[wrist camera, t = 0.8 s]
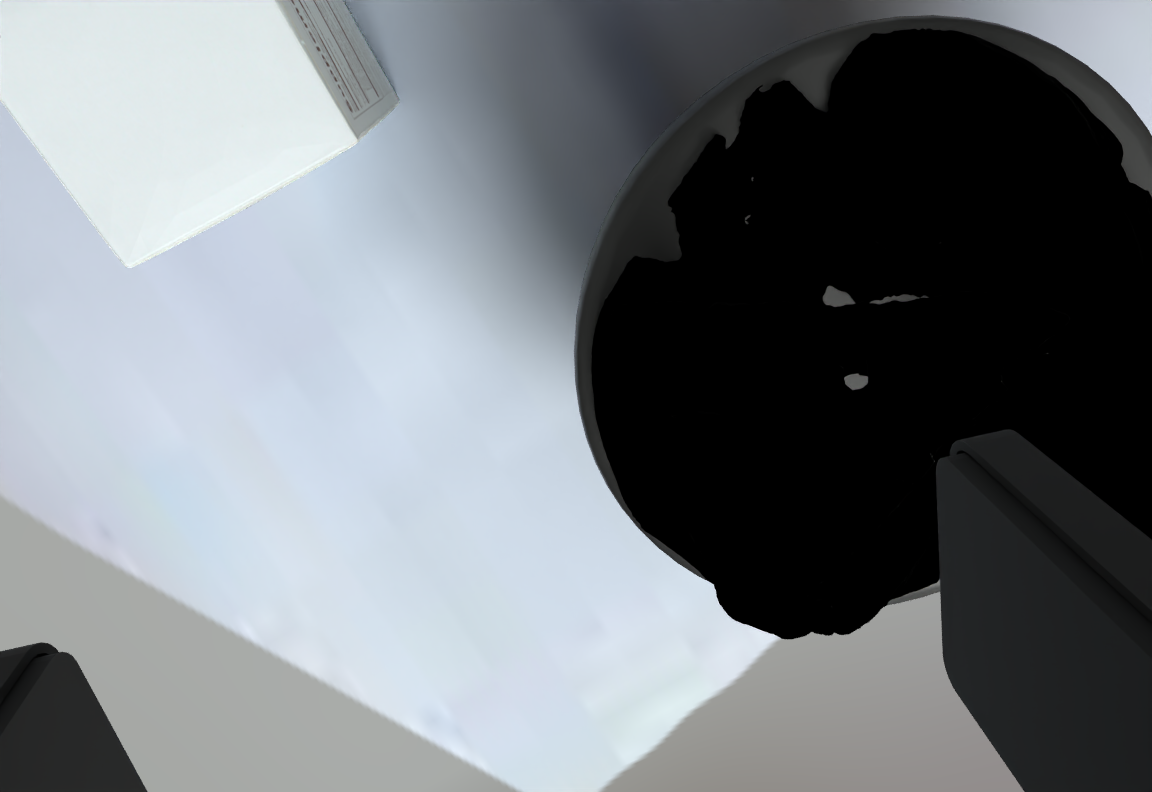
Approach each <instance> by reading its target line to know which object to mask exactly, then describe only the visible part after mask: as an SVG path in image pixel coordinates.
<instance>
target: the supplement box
mask: <svg viewBox="0 0 1152 792" xmlns="http://www.w3.org/2000/svg"><path fill="white" fill-rule="evenodd" d="M0 101H1V102H2V103H3V105H4V106H5V107H6V109H7V110H8V111H9V113H10V114H11V115H12V117H13V118H14V120H15V121H16V122H17V124H18V125H19V127H20V128H21V129H22V131H23V132H24V133H25V135H26V136H27V137H28V139H29V140H30V141H31V143H32V144H33V145H34V147H35V148H36V149H37V151H38V152H39V153H40V155H41V156H42V157H43V159H44V160H45V161H46V163H47V164H48V166H49V167H50V168H51V170H52V171H53V172H54V174H55V175H56V176H57V178H58V179H59V180H60V182H61V183H62V184H63V186H64V187H65V188H66V190H67V191H68V192H69V194H70V195H71V196H72V198H73V199H74V200H75V202H76V203H77V204H78V206H79V207H80V208H81V210H82V211H83V212H84V214H85V215H86V216H87V218H88V219H89V221H90V222H91V223H92V224H93V226H94V227H95V229H96V230H97V231H98V233H99V234H100V235H101V237H102V238H103V239H104V241H105V242H106V243H107V245H108V246H109V247H110V249H111V250H112V251H113V252H114V254H115V255H116V256H117V257H118V259H119V260H120V261H121V262H122V264H123V265H124V266H125V267H128V268H132V267H134V266H136V265H139V264H141V263H143V262H145V261H147V260H149V259H151V258H153V257H155V256H157V255H159V254H161V253H163V252H165V251H167V250H169V249H171V248H172V247H174V246H176V245H178V244H180V243H182V242H184V241H186V240H188V239H190V238H192V237H194V236H196V235H198V234H200V233H201V232H203V231H205V230H207V229H209V228H211V227H213V226H215V225H217V224H218V223H220V222H222V221H224V220H226V219H228V218H230V217H232V216H233V215H235V214H237V213H239V212H241V211H243V210H244V209H246V208H248V207H250V206H252V205H253V204H255V203H257V202H259V201H260V200H262V199H264V198H266V197H268V196H269V195H271V194H273V193H275V192H277V191H278V190H280V189H282V188H284V187H285V186H287V185H289V184H291V183H292V182H294V181H296V180H298V179H299V178H301V177H303V176H304V175H306V174H308V173H309V172H311V171H313V170H314V169H316V168H318V167H319V166H321V165H323V164H324V163H326V162H328V161H329V160H331V159H333V158H334V157H336V156H338V155H339V154H341V153H343V152H344V151H346V150H348V149H349V148H351V147H353V146H354V145H356V144H357V143H358V142H359V141H360V140H361V139H362V138H363V137H364V136H365V135H366V134H367V133H368V132H369V131H371V130H372V129H373V128H374V127H375V126H377V125H378V124H379V123H380V122H381V121H382V120H383V119H384V118H385V117H386V116H387V115H388V114H389V113H390V112H391V111H392V110H393V109H394V108H395V107H396V106H397V105H398V104H399V103H400V100H399V98H398V96H397V95H396V93H395V91H394V90H393V88H392V86H391V85H390V83H389V81H388V79H387V77H386V76H385V74H384V72H383V70H382V69H381V67H380V65H379V64H378V62H377V60H376V58H375V56H374V55H373V53H372V51H371V49H370V48H369V46H368V44H367V42H366V40H365V39H364V37H363V35H362V33H361V32H360V30H359V28H358V26H357V24H356V23H355V21H354V19H353V17H352V16H351V14H350V12H349V10H348V9H347V7H346V5H345V3H344V1H343V0H0Z"/></svg>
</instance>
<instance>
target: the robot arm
mask: <svg viewBox="0 0 1152 792" xmlns="http://www.w3.org/2000/svg"><path fill="white" fill-rule="evenodd" d="M936 486H937V513H938V539H939V566H940V593H941V620H942V646H943V659H944V664H945V668H946V671H947V674H948V677H949V679H950V681H951V684H952V686H953V688H954V689H955V691H956V693H957V694H958V696H959V697H960V698H961V700H962V701H963V703H964V704H965V705H966V707H967V708H968V710H969V712H970V713H971V714H972V716H973V717H974V719H975V720H976V721H977V723H978V725H979V726H980V728H981V729H982V730H983V732H984V733H985V735H986V736H987V738H988V739H989V741H990V742H991V744H992V745H993V746H994V748H995V749H996V751H997V752H998V754H999V755H1000V757H1001V758H1002V759H1003V761H1004V762H1005V764H1006V765H1007V767H1008V768H1009V770H1010V771H1011V772H1012V774H1013V775H1014V777H1015V778H1016V780H1017V781H1018V783H1019V784H1020V786H1021V787H1022V788H1023V790H1024V791H1025V792H1152V540H1151V539H1150V538H1149V537H1148V536H1146V535H1145V534H1144V533H1143V532H1141V531H1140V530H1139V529H1138V528H1136V527H1135V526H1134V525H1133V524H1131V523H1130V522H1129V521H1128V520H1126V519H1125V518H1124V517H1123V516H1121V515H1120V514H1119V513H1118V512H1116V511H1115V510H1114V509H1113V508H1111V507H1110V506H1109V505H1107V504H1106V503H1105V502H1104V501H1102V500H1101V499H1100V498H1099V497H1097V496H1096V495H1095V494H1094V493H1092V492H1091V491H1090V490H1089V489H1087V488H1086V487H1085V486H1084V485H1082V484H1081V483H1080V482H1079V481H1077V480H1076V479H1075V478H1074V477H1072V476H1071V475H1070V474H1069V473H1067V472H1066V471H1065V470H1064V469H1062V468H1061V467H1060V466H1059V465H1057V464H1056V463H1055V462H1054V461H1052V460H1051V459H1050V458H1049V457H1047V456H1046V455H1045V454H1044V453H1042V452H1041V451H1040V450H1039V449H1037V448H1036V447H1035V446H1034V445H1032V444H1031V443H1030V442H1029V441H1027V440H1026V439H1025V438H1023V437H1022V436H1021V435H1020V434H1018V433H1017V432H1015V431H1013V430H1002V431H997V432H993V433H988V434H984V435H979V436H975V437H970V438H966V439H961V440H957V441H955V442H954V443H953V444H952V447H951V450H950V456H947V457H943V458H940V459H939V460H938V462H937V466H936ZM0 792H147V790H146V789H145V786H144V785H143V783H142V781H141V779H140V777H139V775H138V774H137V772H136V770H135V768H134V766H133V764H132V763H131V761H130V759H129V757H128V755H127V753H126V751H125V750H124V748H123V746H122V744H121V742H120V740H119V738H118V737H117V735H116V733H115V731H114V729H113V728H112V726H111V724H110V722H109V720H108V718H107V716H106V714H105V713H104V711H103V709H102V707H101V705H100V703H99V702H98V700H97V698H96V696H95V694H94V692H93V691H92V689H91V687H90V685H89V683H88V681H87V679H86V678H85V676H84V674H83V672H82V670H81V668H80V666H79V665H78V663H77V661H76V660H75V659H74V657H73V656H72V655H70V654H68V653H65V652H58V650H57V649H56V648H55V647H53V646H52V645H50V644H48V643H36V644H32V645H27V646H23V647H18V648H14V649H9V650H5V651H0Z"/></svg>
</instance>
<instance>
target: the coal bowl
mask: <svg viewBox="0 0 1152 792" xmlns="http://www.w3.org/2000/svg"><path fill="white" fill-rule="evenodd" d="M574 359H575V383H576V390H577V397H578V405H579V411H580V415H581V419H582V423H583V427H584V431H585V435H586V438H587V441H588V444H589V447H590V449H591V452H592V455H593V457H594V460H595V463H596V465H597V467H598V469H599V471H600V472H601V474H602V476H603V478H604V480H605V482H606V484H607V486H608V488H609V489H610V491H611V492H612V494H613V495H614V497H615V499H616V500H617V502H618V503H619V505H620V506H621V508H622V509H623V510H624V511H625V513H626V514H627V515H628V516H629V517H630V519H631V520H632V521H633V522H634V524H635V525H636V526H637V527H638V528H639V529H640V530H641V531H642V532H643V533H644V534H645V535H646V536H647V537H648V538H649V539H650V540H651V541H652V542H653V543H654V544H655V545H656V546H657V547H658V548H659V549H661V550H662V551H663V552H664V553H666V554H667V555H668V556H669V557H671V558H672V559H673V560H674V561H676V562H677V563H678V564H680V565H682V566H683V567H685V568H686V569H688V570H689V571H691V572H693V573H694V574H696V575H697V576H699V577H701V578H703V579H705V580H707V581H709V582H711V583H712V584H714V587H715V589H716V594H717V598H718V601H719V604H720V605H721V606H722V607H723V609H724V610H725V612H726V613H727V614H728V615H729V616H730V617H731V618H732V619H734V620H735V621H738V622H741V623H742V624H747V625H749V626H752V627H755V628H757V629H760V630H762V631H765V632H768V633H770V634H774V635H777V636H778V637H780V638H782V639H794V638H799V637H803V636H806V635H807V634H809V633H810V632H814V633H816V634H824V635H828V636H829V635H832V634H833V633H837V634H839V635H845V634H850V633H852V632H853V631H855V630H857V629H859V628H861V626H863V625H864V624H866V623H868V622H869V621H870V620H871V619H873V617H875V615H877V614H878V612H879V611H880V609H882V608H883V607H885V606H886V605H890V604H896V603H901V602H905V601H909V600H913V599H917V598H921V597H924V596H927V595H930V594H933V593H937V592H940V566H939V539H938V513H937V486H936V466H937V462H938V460H939V459H940V458H943V457H947V456H950V450H951V447H952V444H953V443H954V442H955V441H957V440H961V439H966V438H970V437H975V436H979V435H984V434H988V433H993V432H997V431H1002V430H1013V431H1015V432H1017V433H1018V434H1020V435H1021V436H1022V437H1023V438H1025V439H1026V440H1027V441H1029V442H1030V443H1031V444H1032V445H1034V446H1035V447H1036V448H1037V449H1039V450H1040V451H1041V452H1042V453H1044V454H1045V455H1046V456H1047V457H1049V458H1050V459H1051V460H1052V461H1054V462H1055V463H1056V464H1057V465H1059V466H1060V467H1061V468H1062V469H1064V470H1065V471H1066V472H1067V473H1069V474H1070V475H1071V476H1072V477H1074V478H1075V479H1076V480H1077V481H1079V482H1080V483H1081V484H1082V485H1084V486H1085V487H1086V488H1087V489H1089V490H1090V491H1091V492H1092V493H1094V494H1095V495H1096V496H1097V497H1099V498H1100V499H1101V500H1102V501H1104V502H1105V503H1106V504H1107V505H1109V506H1110V507H1111V508H1113V509H1114V510H1115V511H1116V512H1118V513H1119V514H1120V515H1121V516H1123V517H1124V518H1125V519H1126V520H1128V521H1129V522H1130V523H1131V524H1133V525H1134V526H1135V527H1136V528H1138V529H1139V530H1140V531H1141V532H1143V533H1144V534H1145V535H1146V536H1148V537H1149V538H1150V539H1151V540H1152V136H1151V134H1150V132H1149V130H1148V129H1147V127H1146V126H1145V124H1144V123H1143V122H1142V120H1141V119H1140V118H1139V116H1138V115H1137V114H1136V112H1135V111H1134V110H1133V108H1132V107H1131V106H1130V104H1129V103H1128V102H1127V101H1126V100H1125V99H1124V98H1123V97H1122V96H1121V95H1120V94H1119V93H1118V92H1117V91H1116V90H1115V89H1114V88H1113V87H1112V86H1111V85H1110V84H1109V83H1108V82H1107V81H1106V80H1104V79H1103V78H1102V77H1101V76H1099V75H1098V74H1097V73H1096V72H1094V71H1093V70H1092V69H1091V68H1090V67H1088V66H1087V65H1086V64H1084V63H1083V62H1081V61H1079V60H1078V59H1076V58H1074V57H1073V56H1071V55H1070V54H1068V53H1066V52H1065V51H1063V50H1062V49H1060V48H1058V47H1057V46H1055V45H1052V44H1050V43H1048V42H1046V41H1044V40H1041V39H1039V38H1037V37H1035V36H1033V35H1031V34H1028V33H1025V32H1022V31H1019V30H1016V29H1013V28H1009V27H1006V26H1003V25H1000V24H996V23H991V22H985V21H980V20H975V19H970V18H962V17H948V16H935V15H931V16H903V17H894V18H887V19H880V20H873V21H866V22H860V23H856V24H852V25H848V26H844V27H840V28H836V29H833V30H829V31H825V32H822V33H819V34H816V35H814V36H811V37H808V38H805V39H803V40H800V41H797V42H794V43H792V44H789V45H787V46H785V47H782V48H780V49H778V50H776V51H774V52H772V53H770V54H768V55H766V56H764V57H762V58H760V59H757V60H756V61H754V62H753V63H751V64H749V65H748V66H746V67H744V68H743V69H741V70H739V71H738V72H736V73H734V74H733V75H731V76H729V77H728V78H726V79H725V80H723V81H722V82H721V83H719V84H718V85H717V86H715V87H714V88H713V89H711V90H710V91H708V92H707V93H706V94H704V95H703V96H702V97H700V98H699V99H698V100H697V101H696V102H694V103H693V104H692V105H691V106H690V107H689V108H688V109H687V110H686V111H684V112H683V113H682V114H681V115H680V116H679V117H678V118H677V119H676V120H674V121H673V122H672V124H671V125H670V126H669V127H668V128H667V129H666V130H665V131H664V132H663V133H662V134H661V136H660V137H659V138H658V139H657V140H656V141H655V142H654V143H653V144H652V145H651V147H650V148H649V149H648V151H647V152H646V153H645V155H644V156H643V157H642V158H641V160H640V161H639V162H638V164H637V165H636V166H635V168H634V169H633V170H632V172H631V173H630V175H629V177H628V178H627V180H626V181H625V183H624V185H623V186H622V188H621V189H620V191H619V193H618V194H617V196H616V198H615V200H614V202H613V204H612V206H611V208H610V210H609V212H608V214H607V216H606V218H605V220H604V222H603V224H602V226H601V229H600V231H599V234H598V236H597V239H596V242H595V244H594V247H593V249H592V252H591V255H590V258H589V261H588V265H587V269H586V272H585V276H584V279H583V283H582V287H581V293H580V299H579V304H578V310H577V317H576V331H575V345H574Z"/></svg>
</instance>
